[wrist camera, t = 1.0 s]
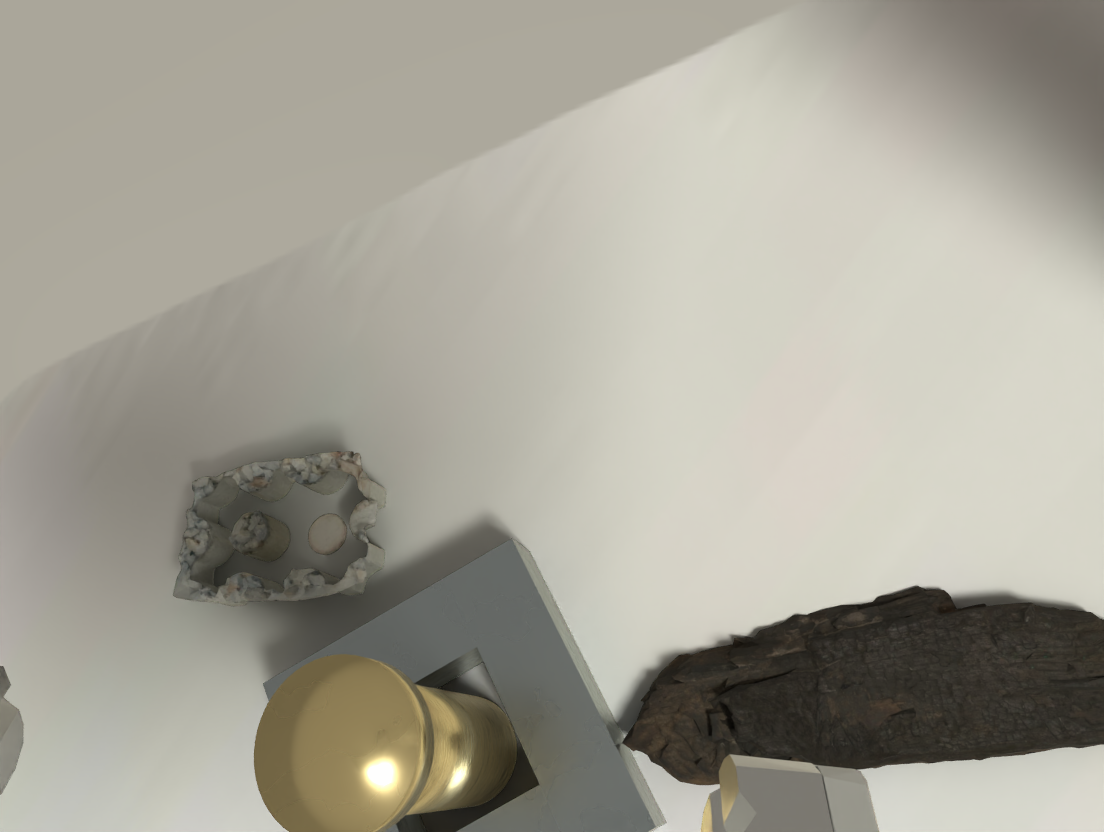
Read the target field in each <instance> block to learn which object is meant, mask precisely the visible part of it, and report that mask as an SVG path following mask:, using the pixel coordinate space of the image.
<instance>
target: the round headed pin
mask: <svg viewBox="0 0 1104 832" xmlns="http://www.w3.org/2000/svg"><path fill="white" fill-rule="evenodd" d="M516 758H517V741H516V736H515V732H514V729H513V726H512V724H511V722H510V720H509V718H508V717H507V716H506V714H505V713H504V712H503V711H502V710H501V709H500V708H499V707H498V706H497V705H496V704H494V703H493V702H491V701H489V700H487V699H485V698H482V697H478V696H473V695H467V694H462V693H457V692H452V691H446V690H441V689H436V688H431V687H425V686H420V685H415V684H414V683H413V682H412V681H411V679H410V678H409V677H408V676H406V675H405V674H404V673H403V672H402V671H400V670H399V669H397V668H395V667H394V666H392V665H390V664H387V663H385V662H382V661H378V660H374V659H370V658H366V657H361V656H357V655H349V654H338V655H330V656H325V657H322V658H319V659H316V660H314V661H312V662H310V663H308V664H306V665H304V666H302V667H301V668H299V669H298V670H296V671H295V672H294V673H293V674H291V675H290V676H289V677H288V678H287V679H286V680H285V681H284V682H283V683H282V684H281V685H280V686H279V688H278V689H277V690H276V692H275V693H274V695H273V696H272V697H271V699H270V701H269V703H268V704H267V706H266V708H265V710H264V713H263V715H262V717H261V720H260V723H259V727H258V730H257V735H256V740H255V748H254V768H255V776H256V781H257V785H258V788H259V791H260V794H261V796H262V799H263V801H264V803H265V805H266V807H267V808H268V810H269V812H270V813H271V814H272V816H273V817H274V818H275V820H276V821H277V822H278V823H279V824H280V825H281V826H282V827H283V828H285V829H286V830H287V831H289V832H384V831H386V830H388V829H389V828H391V827H392V826H394V825H395V824H396V823H397V822H399V821H400V820H401V819H402V818H403V817H404V816H405V815H412V814H420V813H427V812H435V811H443V810H450V809H458V808H466V807H473V806H478V805H481V804H483V803H486V802H488V801H489V800H491V799H492V798H494V797H495V796H496V795H497V794H499V793H500V792H501V791H502V789H503V788H504V787H505V786H506V784H507V783H508V781H509V779H510V777H511V775H512V773H513V770H514V767H515V763H516Z"/></svg>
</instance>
